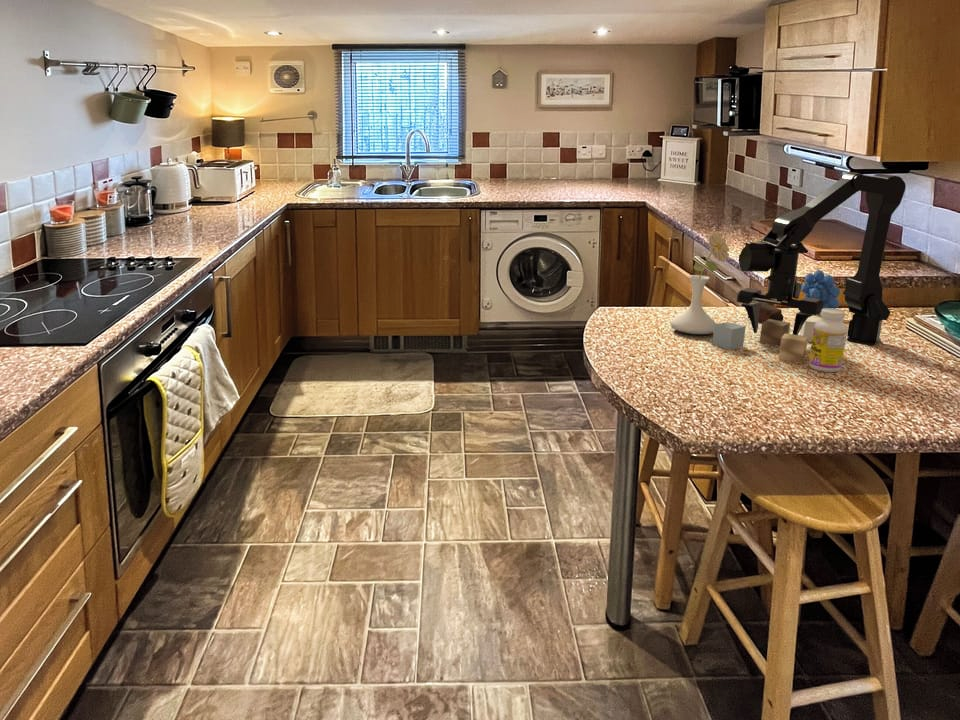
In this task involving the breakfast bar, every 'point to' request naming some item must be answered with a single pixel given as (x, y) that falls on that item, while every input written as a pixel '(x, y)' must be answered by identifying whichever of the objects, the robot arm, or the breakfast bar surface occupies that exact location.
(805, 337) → the oak cube
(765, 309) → the brick
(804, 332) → the cream cube
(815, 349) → the supplement bottle
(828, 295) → the grapes
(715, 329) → the slate blue cube
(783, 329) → the walnut cube
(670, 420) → the breakfast bar surface
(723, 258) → the flower in vase
